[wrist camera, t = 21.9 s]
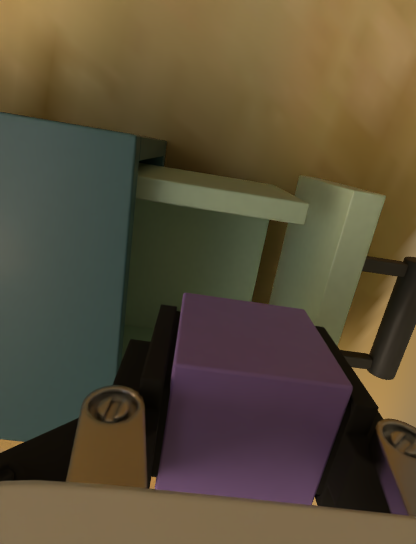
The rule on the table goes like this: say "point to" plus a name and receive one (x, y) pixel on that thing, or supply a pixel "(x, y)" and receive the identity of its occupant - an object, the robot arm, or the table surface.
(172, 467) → the purple rounded cube
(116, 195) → the small teal cabinet
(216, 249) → the drawer
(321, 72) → the table surface
